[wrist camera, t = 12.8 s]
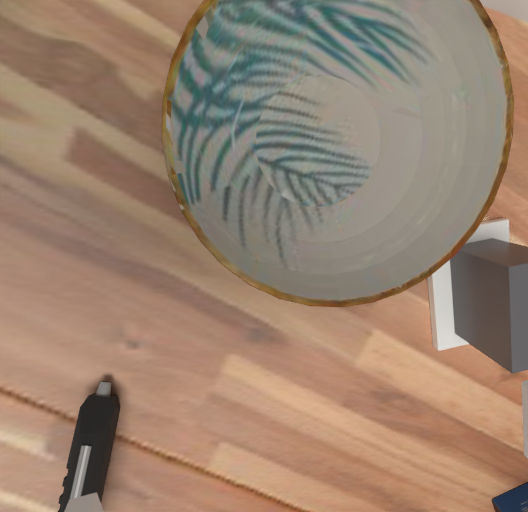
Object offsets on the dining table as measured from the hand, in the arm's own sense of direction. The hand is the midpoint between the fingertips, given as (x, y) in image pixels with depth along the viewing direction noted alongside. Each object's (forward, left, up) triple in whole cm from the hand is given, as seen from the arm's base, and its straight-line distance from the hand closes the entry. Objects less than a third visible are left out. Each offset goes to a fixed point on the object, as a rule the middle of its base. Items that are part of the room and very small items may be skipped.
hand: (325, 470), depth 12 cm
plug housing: (+6, +21, -25) cm, 33 cm away
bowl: (-10, +8, -26) cm, 29 cm away
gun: (+15, -18, -26) cm, 35 cm away
